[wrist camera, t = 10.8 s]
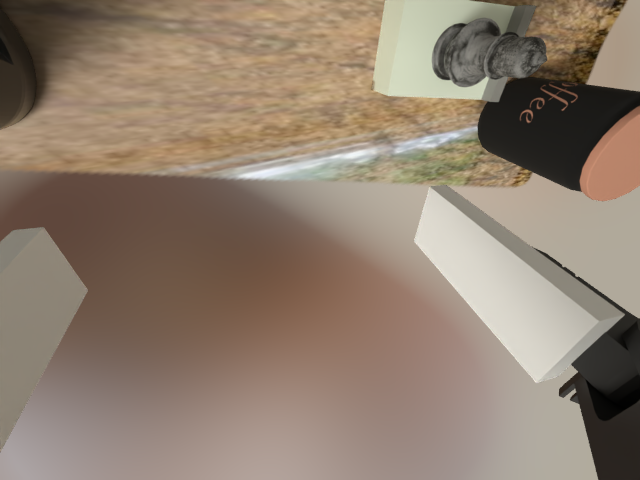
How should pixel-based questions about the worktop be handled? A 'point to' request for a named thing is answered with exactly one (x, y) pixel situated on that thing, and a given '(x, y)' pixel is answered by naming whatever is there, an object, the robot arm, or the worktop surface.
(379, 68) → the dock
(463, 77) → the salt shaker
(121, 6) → the worktop surface
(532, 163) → the coffee jar
